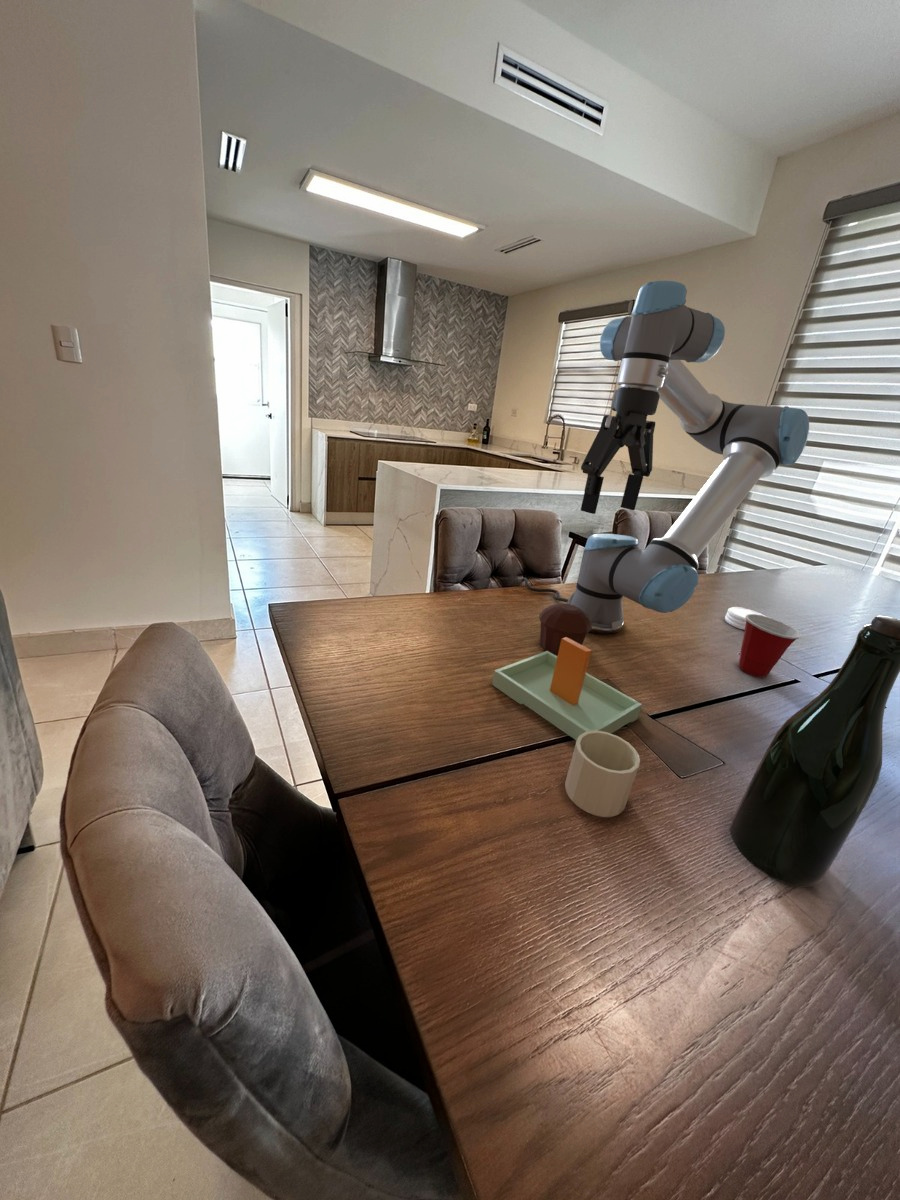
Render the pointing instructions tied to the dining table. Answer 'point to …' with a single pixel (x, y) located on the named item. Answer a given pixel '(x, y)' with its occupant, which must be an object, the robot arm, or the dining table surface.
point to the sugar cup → (601, 773)
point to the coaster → (738, 616)
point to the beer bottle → (821, 766)
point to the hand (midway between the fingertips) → (608, 510)
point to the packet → (570, 670)
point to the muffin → (562, 626)
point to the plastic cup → (764, 644)
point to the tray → (592, 712)
